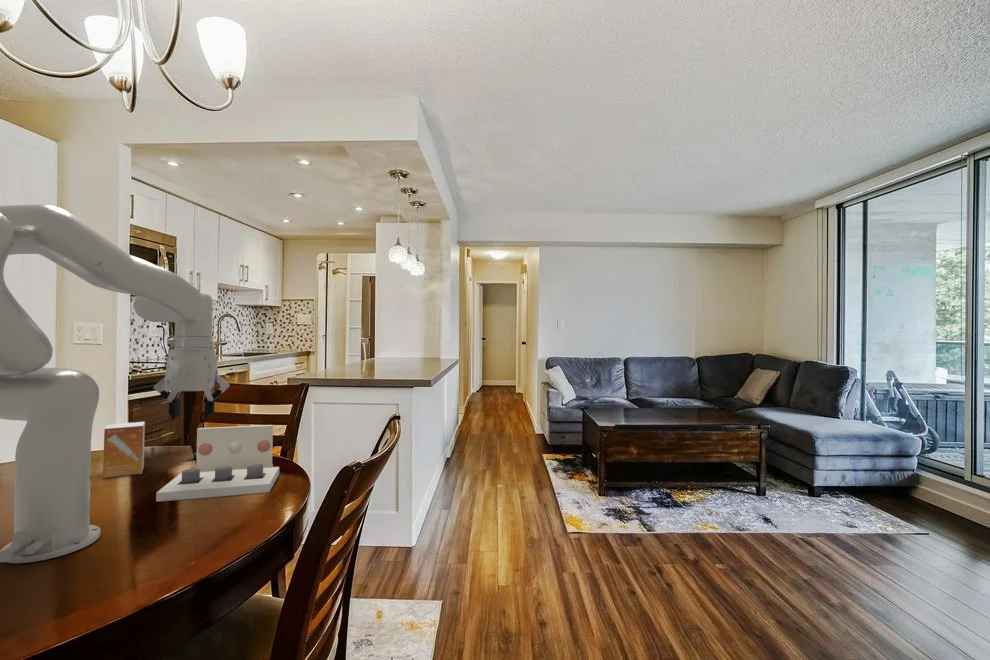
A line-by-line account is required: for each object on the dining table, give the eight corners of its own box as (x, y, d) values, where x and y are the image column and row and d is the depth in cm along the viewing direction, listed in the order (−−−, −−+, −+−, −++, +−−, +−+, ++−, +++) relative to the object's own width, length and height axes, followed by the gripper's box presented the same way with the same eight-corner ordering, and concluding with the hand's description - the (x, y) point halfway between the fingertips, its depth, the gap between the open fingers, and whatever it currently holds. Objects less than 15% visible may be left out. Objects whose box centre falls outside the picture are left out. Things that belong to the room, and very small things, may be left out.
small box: (102, 479, 113) (103, 428, 113) (105, 472, 118) (106, 424, 118) (142, 473, 118) (143, 425, 118) (144, 467, 123) (145, 421, 123)
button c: (261, 479, 110) (261, 467, 110) (245, 481, 109) (245, 469, 109) (264, 475, 113) (264, 463, 113) (248, 476, 112) (248, 464, 112)
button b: (229, 482, 108) (229, 470, 108) (212, 483, 107) (213, 471, 107) (233, 477, 111) (233, 465, 111) (217, 478, 110) (217, 466, 110)
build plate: (228, 454, 139) (228, 440, 139) (224, 461, 132) (224, 445, 132) (181, 458, 134) (181, 443, 134) (174, 465, 128) (174, 449, 128)
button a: (196, 484, 106) (196, 472, 106) (179, 486, 105) (179, 473, 105) (201, 479, 109) (202, 467, 109) (184, 481, 108) (185, 469, 108)
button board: (269, 492, 106) (269, 483, 106) (156, 501, 99) (156, 492, 99) (279, 474, 119) (279, 466, 119) (180, 481, 112) (180, 473, 112)
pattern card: (270, 472, 120) (271, 426, 120) (194, 478, 115) (195, 430, 115) (273, 468, 124) (273, 423, 124) (199, 473, 119) (200, 426, 119)
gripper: (143, 343, 101) (142, 422, 101) (229, 344, 106) (227, 418, 106) (158, 343, 108) (156, 416, 108) (237, 343, 113) (236, 413, 113)
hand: (191, 416), depth 107 cm, fingers open, 6 cm apart
